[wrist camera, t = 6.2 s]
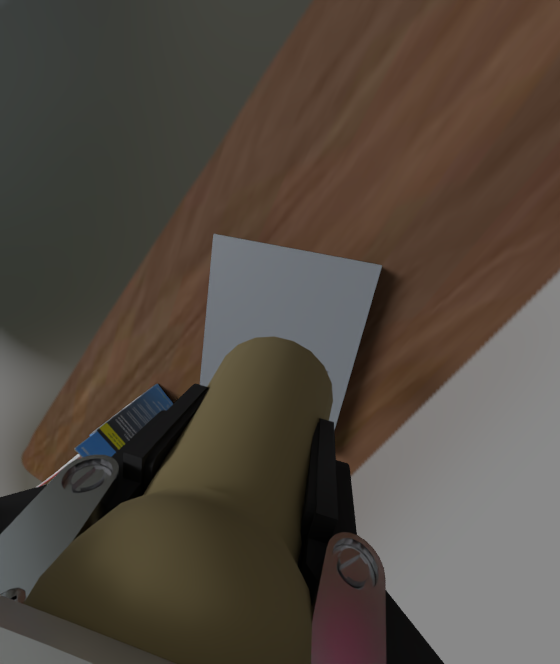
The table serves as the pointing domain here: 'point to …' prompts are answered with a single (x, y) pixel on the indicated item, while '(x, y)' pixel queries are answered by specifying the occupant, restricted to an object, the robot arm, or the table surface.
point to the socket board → (287, 305)
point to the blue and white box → (125, 424)
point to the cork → (210, 526)
